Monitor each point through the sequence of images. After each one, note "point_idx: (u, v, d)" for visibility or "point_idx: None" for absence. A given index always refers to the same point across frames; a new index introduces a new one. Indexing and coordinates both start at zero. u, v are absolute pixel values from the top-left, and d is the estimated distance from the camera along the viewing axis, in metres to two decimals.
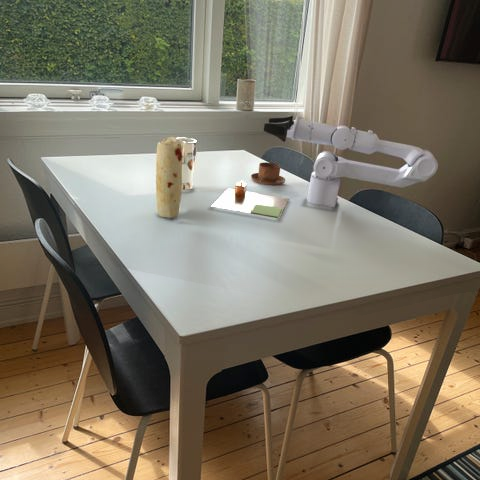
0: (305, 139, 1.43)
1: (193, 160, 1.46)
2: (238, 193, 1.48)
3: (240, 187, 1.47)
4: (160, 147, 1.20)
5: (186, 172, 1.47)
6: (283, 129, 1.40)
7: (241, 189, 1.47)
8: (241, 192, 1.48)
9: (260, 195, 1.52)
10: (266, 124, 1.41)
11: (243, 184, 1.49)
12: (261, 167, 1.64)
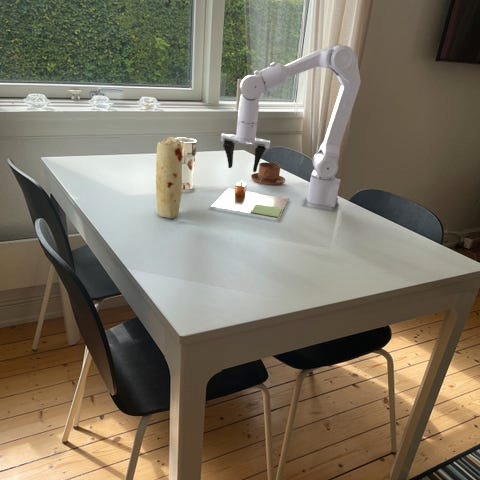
0: None
1: (193, 160, 1.46)
2: (238, 193, 1.48)
3: (240, 187, 1.47)
4: (160, 147, 1.20)
5: (186, 172, 1.47)
6: None
7: (241, 189, 1.47)
8: (241, 192, 1.48)
9: (260, 195, 1.52)
10: (255, 170, 1.45)
11: (243, 184, 1.49)
12: (261, 167, 1.64)
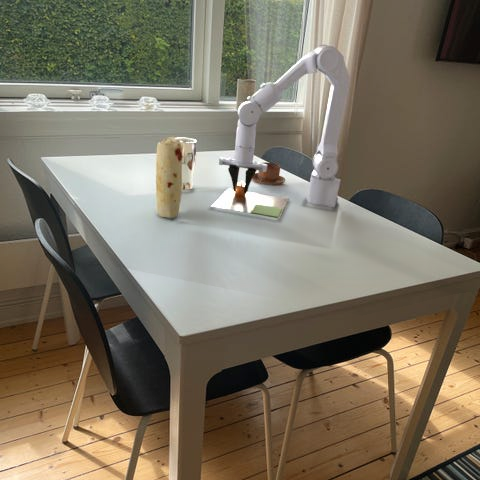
0: None
1: (193, 160, 1.46)
2: (238, 193, 1.48)
3: (240, 187, 1.47)
4: (160, 147, 1.20)
5: (186, 172, 1.47)
6: None
7: (241, 189, 1.47)
8: (241, 192, 1.48)
9: (260, 195, 1.52)
10: (246, 191, 1.49)
11: (243, 184, 1.49)
12: None
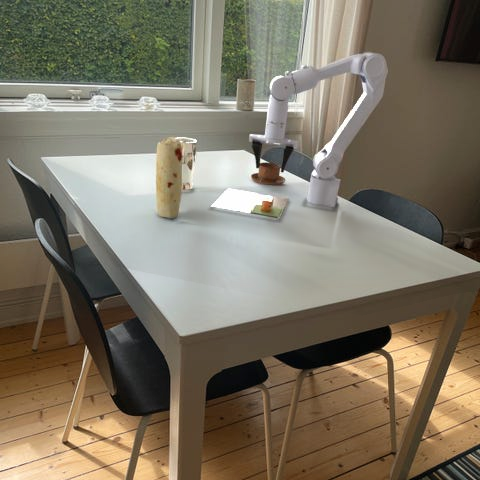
0: None
1: (193, 160, 1.46)
2: (265, 209, 1.37)
3: (267, 202, 1.37)
4: (160, 147, 1.20)
5: (186, 172, 1.47)
6: None
7: (268, 205, 1.36)
8: (268, 208, 1.37)
9: (260, 195, 1.52)
10: (283, 170, 1.46)
11: (270, 199, 1.38)
12: (261, 167, 1.64)
